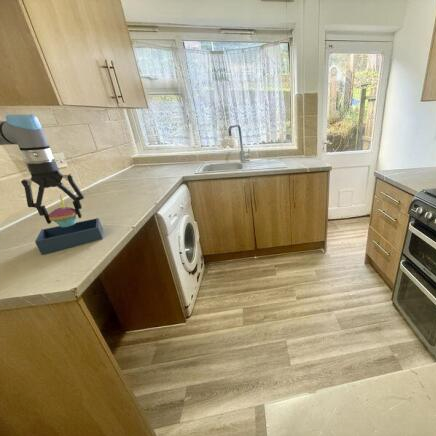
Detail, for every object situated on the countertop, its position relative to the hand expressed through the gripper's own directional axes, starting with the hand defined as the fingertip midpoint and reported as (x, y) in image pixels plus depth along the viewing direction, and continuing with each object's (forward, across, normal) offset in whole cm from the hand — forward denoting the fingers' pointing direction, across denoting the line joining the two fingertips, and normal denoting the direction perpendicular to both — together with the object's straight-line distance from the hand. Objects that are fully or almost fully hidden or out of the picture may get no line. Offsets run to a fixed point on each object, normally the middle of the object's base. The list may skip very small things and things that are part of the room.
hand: (65, 219), depth 96 cm
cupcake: (+3, 0, 0) cm, 3 cm away
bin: (+9, 0, 0) cm, 9 cm away
